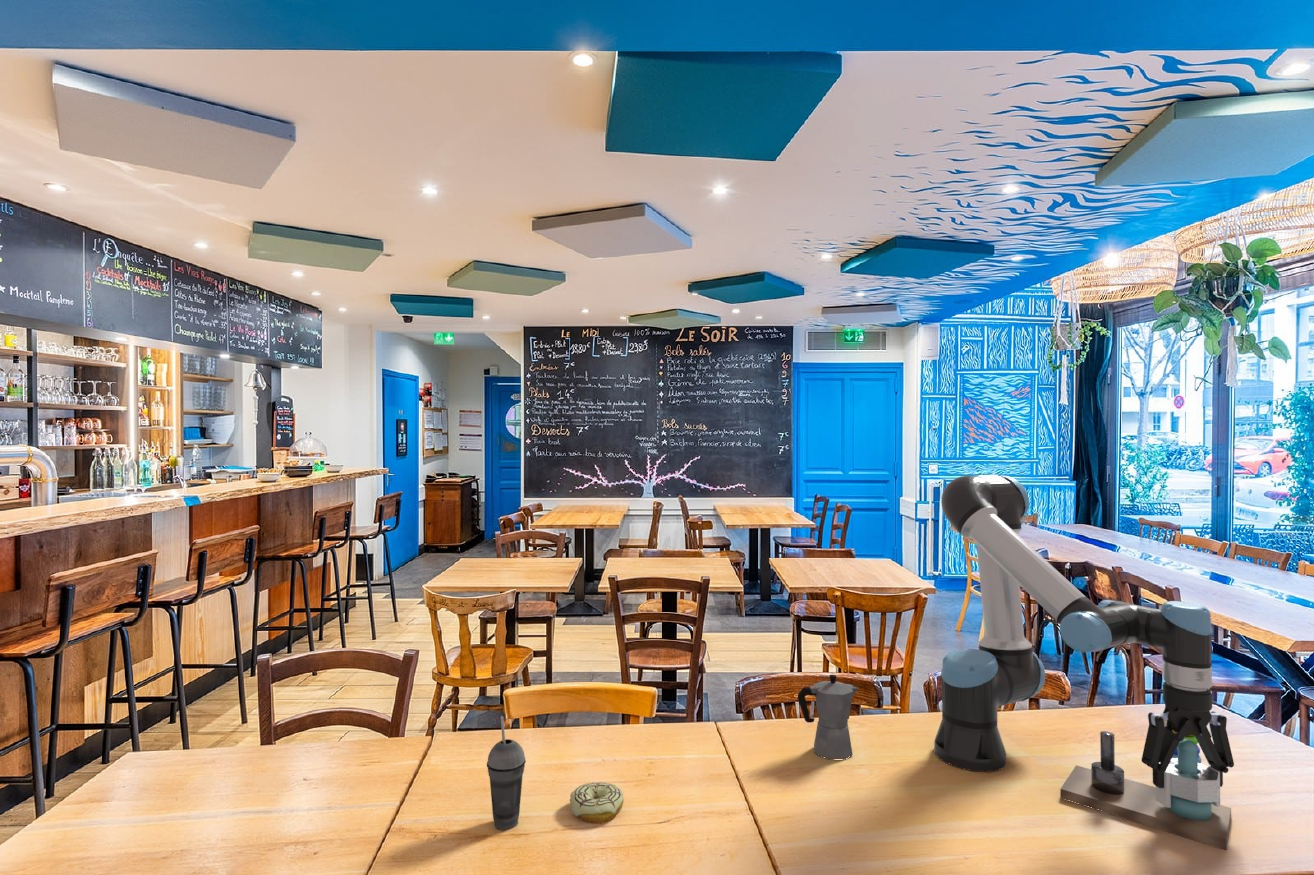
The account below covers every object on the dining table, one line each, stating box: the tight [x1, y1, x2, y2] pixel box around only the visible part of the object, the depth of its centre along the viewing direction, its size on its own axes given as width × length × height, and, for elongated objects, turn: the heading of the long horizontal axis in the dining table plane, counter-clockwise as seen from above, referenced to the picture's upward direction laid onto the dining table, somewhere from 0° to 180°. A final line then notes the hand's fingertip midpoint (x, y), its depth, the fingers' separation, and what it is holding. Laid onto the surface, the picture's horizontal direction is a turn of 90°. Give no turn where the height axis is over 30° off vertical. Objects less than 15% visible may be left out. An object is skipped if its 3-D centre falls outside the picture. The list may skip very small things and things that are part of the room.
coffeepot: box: [797, 674, 860, 760], centre depth 160 cm, size 15×9×18 cm, turn 102°
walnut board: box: [1059, 764, 1232, 850], centre depth 136 cm, size 26×14×2 cm, turn 47°
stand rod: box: [1090, 730, 1125, 795], centre depth 140 cm, size 6×6×11 cm
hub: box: [1166, 739, 1212, 821], centre depth 131 cm, size 7×7×14 cm
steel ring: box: [1166, 758, 1219, 802], centre depth 131 cm, size 9×9×4 cm
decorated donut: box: [569, 781, 624, 824], centre depth 135 cm, size 10×11×4 cm
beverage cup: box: [486, 715, 526, 831], centre depth 130 cm, size 7×7×20 cm
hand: (1187, 803), depth 131 cm, fingers closed on steel ring, 9 cm apart
